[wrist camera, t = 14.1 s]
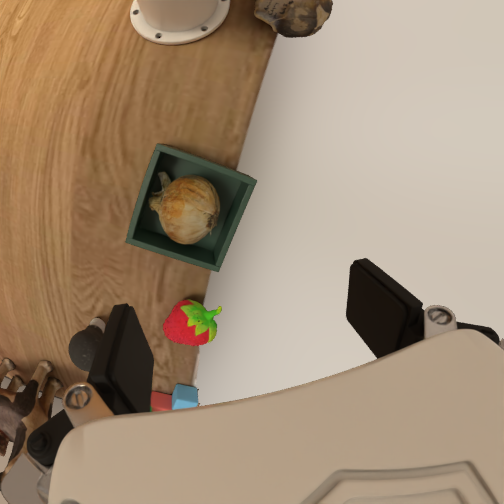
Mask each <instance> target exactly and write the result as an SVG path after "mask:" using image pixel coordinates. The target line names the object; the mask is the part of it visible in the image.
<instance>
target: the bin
mask: <svg viewBox="0 0 504 504" xmlns="http://www.w3.org/2000/svg"><path fill="white" fill-rule="evenodd" d="M159 172H166V173H167V175H168V176H169V178H170V181H171V182H172V181H174V180H176V179H177V178H179V177H182V176H185V175H197V176H201V177H204V178H205V179H207V180H208V181H209V182H210V183H211V184H212V185H213V186H214V188H215V189H216V192H217V194H218V196H219V201H220V211H219V215H218V220H217V226H214V228H212V229H211V231H210V232H211V235H210V232H209V233H208V234H207V235H206V236H205V237H204V238H202V239H201V240H200V241H198V242H196V243H193V244H181V243H178V242H176V241H174V240H172V239H171V238H170V237H169V236H168V235H167V233H166V232H165V231H164V229H163V227H162V225H161V222H160V220H159V214H158V213H157V211H156V210H153V211H152V210H151V208H150V207H149V201H148V200H149V198H151V197H153V195H152V192H154V193H157V192H160V191H162V185H161V181H160V178H159V176H158V173H159ZM256 183H257V180H255V179H253V178H252V177H250V176H249V175H246V174H244V173H241V172H239V171H236V170H234V169H231V168H229V167H226V166H223V165H221V164H218V163H216V162H213V161H210V160H208V159H205V158H202V157H200V156H197V155H194V154H191V153H188V152H186V151H183V150H180V149H177V148H174V147H171V146H168V145H165V144H159V143H157V145H156V147H155V150H154V152H153V155H152V158H151V161H150V163H149V166H148V169H147V172H146V175H145V178H144V180H143V183H142V186H141V190H140V193H139V196H138V199H137V202H136V205H135V209H134V212H133V216H132V219H131V223H130V226H129V230H128V234H127V238H126V241H125V242H126V243H128V244H131V245H134V246H137V247H140V248H144V249H147V250H150V251H153V252H156V253H159V254H162V255H165V256H168V257H171V258H174V259H178V260H181V261H184V262H187V263H190V264H193V265H197V266H200V267H203V268H206V269H210V270H213V271H216V272H219V270H220V267H221V265H222V263H223V260H224V258H225V255H226V253H227V251H228V248H229V246H230V243H231V241H232V239H233V236H234V234H235V232H236V229H237V227H238V224H239V222H240V220H241V217H242V215H243V213H244V210H245V208H246V206H247V203H248V201H249V199H250V196H251V194H252V192H253V189H254V186H255V185H256Z"/></svg>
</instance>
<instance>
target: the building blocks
mask: <svg viewBox="0 0 504 504" xmlns="http://www.w3.org/2000/svg"><path fill="white" fill-rule="evenodd" d="M198 390H199V389H197V388H195V387H190V386H185V385H181V384H176V386H175V389H174V391H173V394H172V395H168V394H164V393H159V392H155V391H152V393H151V404H150V412H156V411H166V410H175V409H183V408H191V407H197V406H199V404H200V403H198V392H197V391H198Z"/></svg>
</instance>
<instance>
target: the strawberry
mask: <svg viewBox="0 0 504 504" xmlns="http://www.w3.org/2000/svg"><path fill="white" fill-rule="evenodd" d="M221 310H222V307H221V306H219V307H218V309H217V310H212V311H207V310H206V309H205V307H203V306H202V305H201V304H200V303H198V302H196V301H192V300H190V299H187V300H183V301H181V302H178V304H177V305H175V306H174V308H173V310H172V313H171V314H170V315H169V317H168V318H167V319H165V323H164V324H163V330H164V333H165V335H166V337H167V338H169V339H170V340H172V341H173V342H177V343H178V342H179V344H180V343H181V344H182V343H183V344H185V345H187V344H188V345H191V346H195V345H197V346H199V345H203V344H206V343H207V342H211V341H212V340H213V339H214V338H215V336H216V332H217V324H216V322H215V321H214V320H213V317H214V316H215V315H217V314H219V313H220V312H221Z"/></svg>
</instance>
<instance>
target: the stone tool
mask: <svg viewBox="0 0 504 504" xmlns="http://www.w3.org/2000/svg"><path fill="white" fill-rule="evenodd" d="M332 5H333V2H332V0H257V1H256V2H255V11H254V15H255V16H256V17H257V18H259V19H261V20H263V21H264V22H266V23H267V24H270V25H271V26H272V28H273V31H275V32H277V33H279V34H281V35H283V36H284V37H291V38H293V37H307V36H310V35H313V34H315V33H316V32H317V31H318V30H320V29H321V27H322V25H323V24H324V22H325V21H326V20H327V19H328V18H329V16H330V14H331V10H332Z"/></svg>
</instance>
